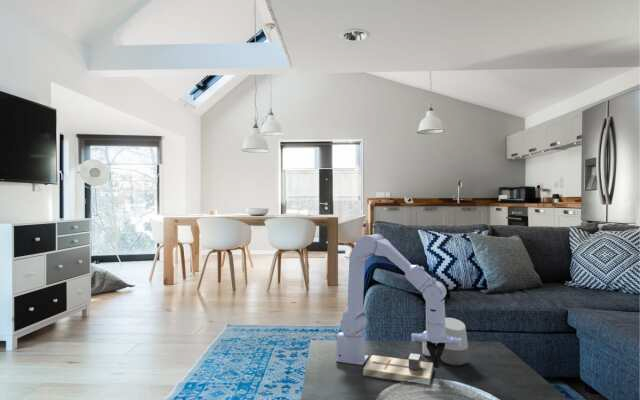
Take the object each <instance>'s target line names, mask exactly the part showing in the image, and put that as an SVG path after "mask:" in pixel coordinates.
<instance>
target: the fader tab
mask: <svg viewBox="0 0 640 400" xmlns="http://www.w3.org/2000/svg"><path fill="white" fill-rule="evenodd" d="M407 360H409V369H411V370H418V371H419V368H420V361H421V354H419V353H411V352H410V354H409V356H408V359H407Z"/></svg>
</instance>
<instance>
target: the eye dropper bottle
mask: <svg viewBox="0 0 640 400" xmlns="http://www.w3.org/2000/svg"><path fill="white" fill-rule="evenodd" d="M425 333H426V330H424V331H423V332H421V334H425ZM436 344H437V343H436ZM426 345H427V342H422V348H421V351H422V354H423V355H424V356H425V357H431V355H430V353H429V351H428V349H427V346H426Z"/></svg>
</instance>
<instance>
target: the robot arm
mask: <svg viewBox="0 0 640 400" xmlns="http://www.w3.org/2000/svg"><path fill="white" fill-rule="evenodd" d="M372 255H375V256H381V257H385V258H387V259H388V260H389V261H391V262H392V263H393V264H394V265H395V266H397V267H398V268H399V269H400V270H402V271H403V272H404V277H405V279H406V280H407V281H408V282H409V283H410V284H411V285H413V287H415V288H416V289H417V290H418V291H419V292H420V293H422V297H423V299H424V301H425V331H426V333H425V334H422V333H417V332H415V333H411V335H410V336H411V339H410V340H411V342H420V343H421V342H427V345H426V346H427V349H428V351H429V353H430V355H431V356H430V358H431V360H432V363H433V369H434V368H435V369H439V368H440V367H439V366H440V360H441V358H440V357H441V355H442V352H443V350H444V348H445V344H449V345H457V346H460V347H461V338H456V337H451V336H446V335H445V318H446V307H445V299H444V298H445V297H446V295H447V287H446V286H445V284H444V283H443V282H442V281H439V280H437V279H436V278H435V277H432V276H431V275H430V274H428V272H427V271H425V268H424V266H423V265H421V266H420V265H419V264H412V263H411V262H410V261H409V260H408V259H407V258H406V257H404V255H402V253H400V252H399V250H397V248H396V247H395V246H393V244H391V242H390V241H389V240H388V239H386V238H384V236H383V235H381V234H380V233H374V234H369V235H368V234H367V235H362V236H361V237H359V238H358V239H356V240H355V245H353V248H352V249H351V251H350V253H349V257H348V258H349V259H348V261H349V263H348V264H349V265H348V282H347V283H348V285H347V303H346V304H347V305H346V307H345V309H344V311H343V313H342V319H341V320H340V322H339V323H340V324H339V327H340V331H341V332H338V333H337V336H336V359H335V362H338V363H345V364H352V365H358V366H363V365H364V364H365V362H366V361H367V359H368V358H369V355H368V354H366V345H365V344H366V342H365V341H366V335H365V333H366V332H365V328H366V327H367V326H368V323H369V322H368V320H369V319H368V317H367V314H366V313H367V312H366V308H365V306H364V289H365V270H366V269H365V266H366V260H367V259H369V258H370V257H372ZM436 343H437V344H436Z"/></svg>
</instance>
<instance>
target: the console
mask: <svg viewBox="0 0 640 400" xmlns="http://www.w3.org/2000/svg"><path fill="white" fill-rule="evenodd" d="M433 371H434V365H433V362H429V361H428V362H427V361H422V360H420V368H419V371H418V370H411V369H409V359H404V358H397V357H392V356H391V357H390V356H382V355H374V354H373V355H371V356H370V358H369V360H368V361H367V363H366V364H365V365H364V367H363V368H362V375H363V376H366V377H372V378H379V379H386V380H390V381H391V380H393V381H398V382H399V381H400V382H404V381H406V380H413V379H428V380H429V379H432V375H433Z"/></svg>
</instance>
